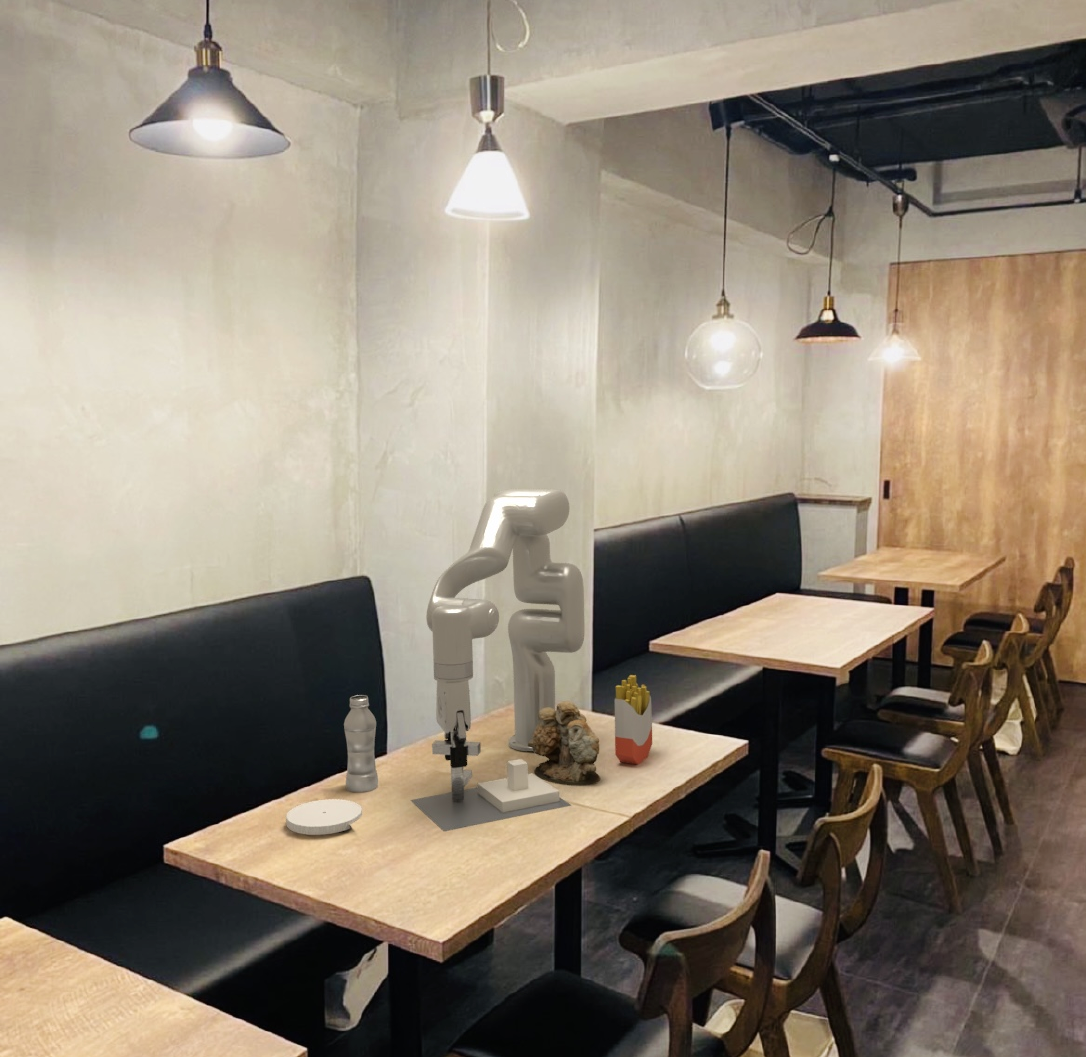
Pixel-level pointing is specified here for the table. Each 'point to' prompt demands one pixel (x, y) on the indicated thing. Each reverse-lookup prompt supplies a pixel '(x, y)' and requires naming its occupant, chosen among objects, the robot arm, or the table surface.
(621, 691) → the french fries container
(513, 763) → the cover
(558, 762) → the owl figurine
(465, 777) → the t key
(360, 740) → the plastic bottle
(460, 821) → the base
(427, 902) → the table surface
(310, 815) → the plastic lid
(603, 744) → the table surface
